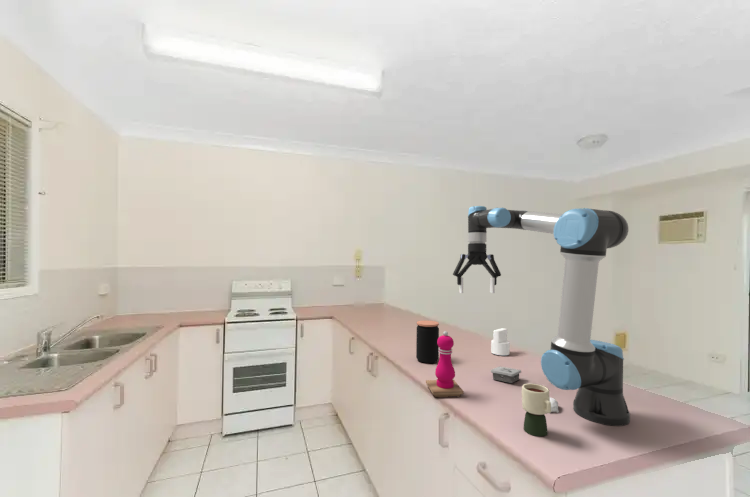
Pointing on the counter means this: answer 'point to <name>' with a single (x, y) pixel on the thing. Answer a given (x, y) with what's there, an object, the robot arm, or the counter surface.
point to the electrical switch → (506, 374)
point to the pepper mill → (445, 362)
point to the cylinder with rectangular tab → (500, 342)
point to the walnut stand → (444, 392)
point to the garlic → (554, 405)
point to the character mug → (535, 408)
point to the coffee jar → (427, 341)
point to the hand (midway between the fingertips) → (476, 292)
